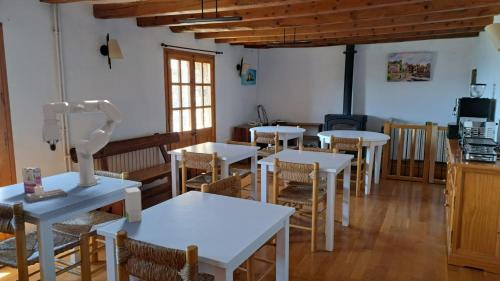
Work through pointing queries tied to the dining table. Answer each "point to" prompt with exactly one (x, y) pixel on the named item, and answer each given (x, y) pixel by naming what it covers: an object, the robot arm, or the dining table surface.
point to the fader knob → (39, 190)
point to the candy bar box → (31, 179)
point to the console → (45, 195)
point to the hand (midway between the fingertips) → (53, 150)
